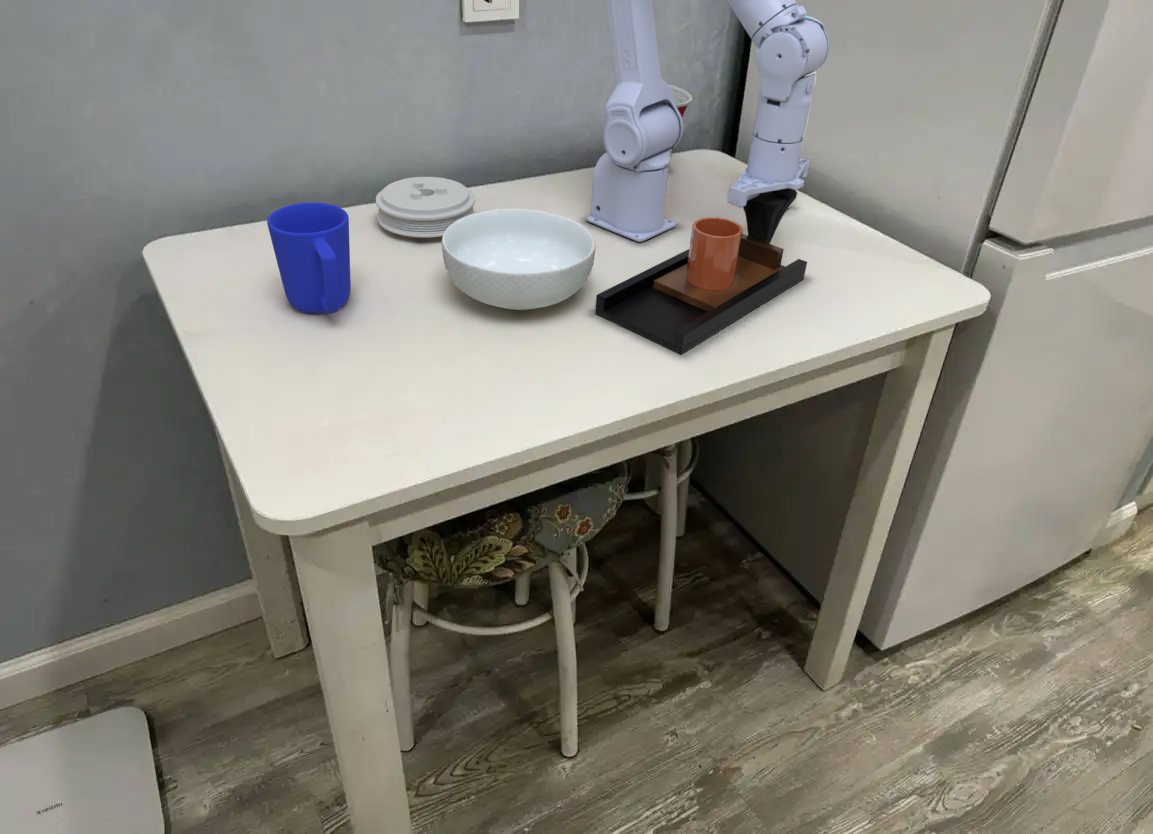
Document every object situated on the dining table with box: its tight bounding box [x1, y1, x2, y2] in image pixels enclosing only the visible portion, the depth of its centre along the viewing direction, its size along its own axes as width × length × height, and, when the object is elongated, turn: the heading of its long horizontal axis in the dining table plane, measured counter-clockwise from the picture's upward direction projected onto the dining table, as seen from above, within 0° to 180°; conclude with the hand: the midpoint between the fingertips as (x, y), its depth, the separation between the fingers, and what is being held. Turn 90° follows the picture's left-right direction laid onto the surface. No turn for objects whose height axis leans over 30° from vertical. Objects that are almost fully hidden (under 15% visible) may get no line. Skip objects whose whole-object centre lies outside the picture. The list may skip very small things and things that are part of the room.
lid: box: [375, 176, 476, 238], centre depth 116 cm, size 13×13×5 cm
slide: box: [653, 233, 785, 312], centre depth 104 cm, size 9×14×3 cm, turn 138°
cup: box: [686, 216, 744, 290], centre depth 102 cm, size 6×6×6 cm
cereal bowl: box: [441, 208, 597, 311], centre depth 100 cm, size 17×17×7 cm
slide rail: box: [594, 248, 808, 355], centre depth 103 cm, size 12×25×2 cm, turn 138°
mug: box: [266, 202, 352, 314], centre depth 95 cm, size 8×12×10 cm
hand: (758, 246), depth 109 cm, fingers closed
